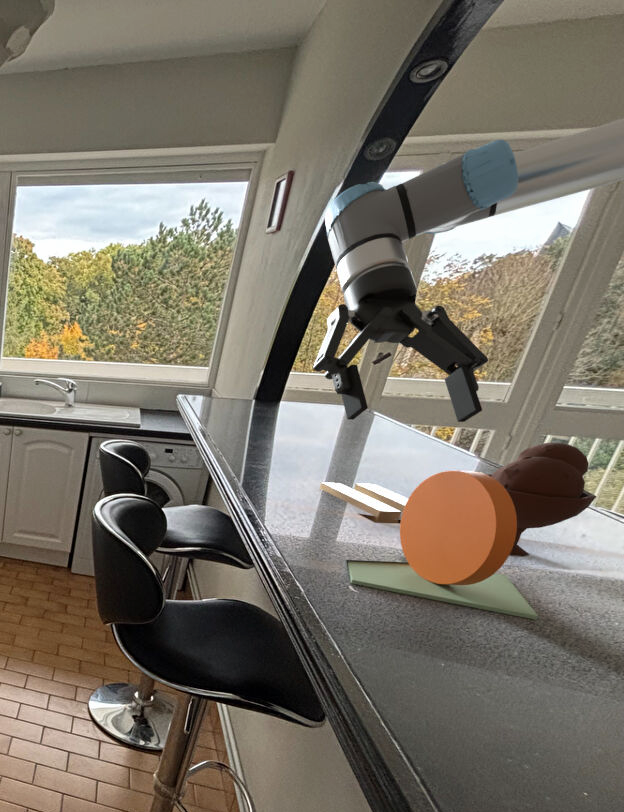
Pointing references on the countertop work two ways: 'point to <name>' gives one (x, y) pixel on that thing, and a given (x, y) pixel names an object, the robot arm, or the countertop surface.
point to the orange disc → (458, 527)
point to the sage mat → (441, 587)
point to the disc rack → (370, 500)
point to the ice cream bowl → (545, 486)
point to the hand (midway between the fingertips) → (413, 415)
